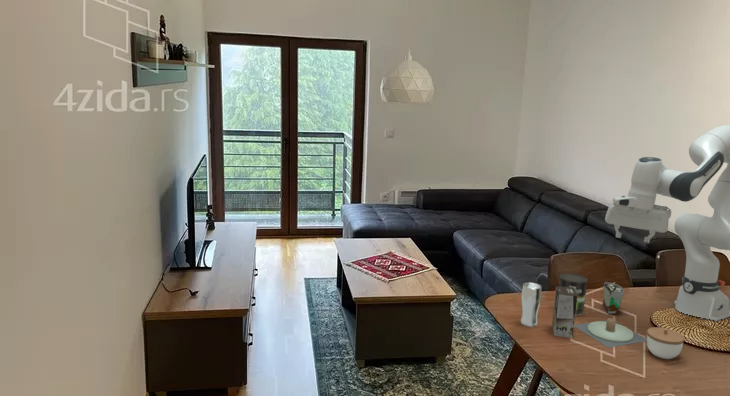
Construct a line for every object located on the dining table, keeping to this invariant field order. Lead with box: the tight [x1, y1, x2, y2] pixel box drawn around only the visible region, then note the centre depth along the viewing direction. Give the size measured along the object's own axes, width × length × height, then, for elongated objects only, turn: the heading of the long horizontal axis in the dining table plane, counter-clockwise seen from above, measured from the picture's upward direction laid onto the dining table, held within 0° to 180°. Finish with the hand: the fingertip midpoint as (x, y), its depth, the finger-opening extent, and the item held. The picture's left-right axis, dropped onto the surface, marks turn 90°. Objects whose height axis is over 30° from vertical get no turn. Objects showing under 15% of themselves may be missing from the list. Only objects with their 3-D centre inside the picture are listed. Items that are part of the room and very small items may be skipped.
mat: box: [574, 319, 647, 349], centre depth 191 cm, size 18×18×1 cm
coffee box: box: [551, 285, 578, 339], centre depth 190 cm, size 9×6×16 cm
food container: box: [602, 281, 625, 315], centre depth 210 cm, size 12×6×10 cm, turn 168°
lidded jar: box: [646, 326, 685, 360], centre depth 175 cm, size 11×11×9 cm
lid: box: [588, 317, 634, 342], centre depth 191 cm, size 15×15×5 cm
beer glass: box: [520, 282, 543, 328], centre depth 197 cm, size 7×7×15 cm
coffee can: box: [558, 273, 589, 316], centre depth 209 cm, size 10×10×14 cm
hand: (632, 239), depth 190 cm, fingers open, 8 cm apart
